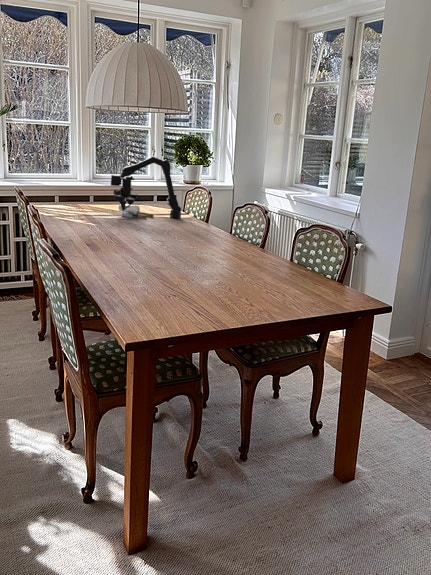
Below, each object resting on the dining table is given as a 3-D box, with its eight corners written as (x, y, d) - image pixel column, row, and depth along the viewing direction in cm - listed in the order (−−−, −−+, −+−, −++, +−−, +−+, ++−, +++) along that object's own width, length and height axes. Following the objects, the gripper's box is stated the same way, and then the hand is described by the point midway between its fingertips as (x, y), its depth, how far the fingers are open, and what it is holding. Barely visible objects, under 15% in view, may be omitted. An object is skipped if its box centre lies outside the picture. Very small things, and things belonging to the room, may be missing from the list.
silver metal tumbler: (139, 214, 346) (140, 205, 345) (134, 214, 342) (135, 205, 340) (123, 211, 352) (124, 203, 351) (118, 211, 347) (119, 203, 346)
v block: (137, 218, 348) (137, 213, 348) (131, 219, 343) (131, 214, 343) (127, 216, 352) (127, 212, 351) (121, 217, 347) (121, 213, 346)
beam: (153, 218, 353) (153, 214, 352) (145, 220, 345) (145, 215, 344) (127, 213, 363) (127, 209, 362) (118, 215, 355) (118, 210, 354)
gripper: (125, 184, 355) (125, 207, 359) (107, 185, 339) (107, 209, 343) (139, 186, 350) (138, 209, 354) (121, 187, 334) (120, 212, 338)
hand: (126, 210), depth 348 cm, fingers closed on silver metal tumbler, 5 cm apart
